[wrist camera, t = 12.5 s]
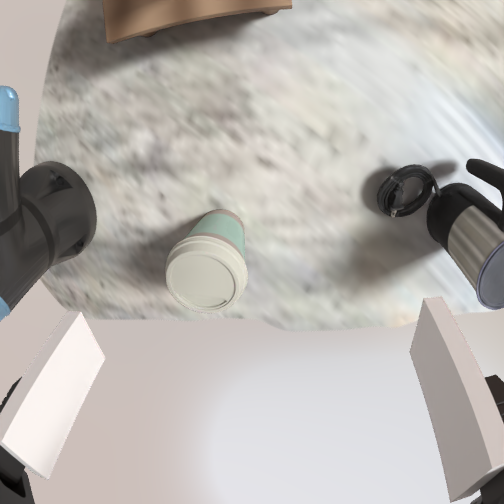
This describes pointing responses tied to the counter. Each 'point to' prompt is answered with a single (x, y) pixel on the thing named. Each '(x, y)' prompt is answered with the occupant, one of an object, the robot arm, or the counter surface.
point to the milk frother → (459, 223)
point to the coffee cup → (209, 264)
